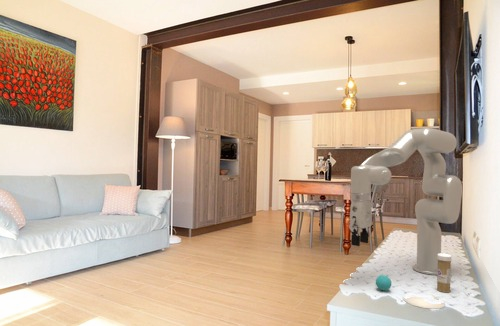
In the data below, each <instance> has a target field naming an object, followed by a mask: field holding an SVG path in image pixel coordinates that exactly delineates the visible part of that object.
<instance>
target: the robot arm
mask: <svg viewBox="0 0 500 326" xmlns="http://www.w3.org/2000/svg"><path fill="white" fill-rule="evenodd" d="M457 144H458V141H457V138H456V136H455V135H454V134H453V133H451V132H448V131H443V130H441V129H436V128H431V127H425V128H423V127H422V128H413V129H408V130H407V131H405V132H404V133H402V134H401V136H399V137H398V138H397V139H396V140H395V141H394V142H393V143H392V144H391V145H390V146H389V147H387V148H384V149H383V150H381V151H379V152H377V153H375V154H373V155H371V156H369V157H367V158H366V159H365V160H364V161H363V162H362V163H361V164H360V165H358V166H357V165H355V166H351V169H350V202H351V204H350V208H349V209H350V211H349V225H348V227H349V230H350V235H351V243H350V244H351V246H355V247H360V246H361V243H364V244H369V232H370V227H371V226H372V225H373V212H372V209H373V208H372V202H371V201H372V185H374V186H375V185H376V186H383V185H386V184H388V183H389V182H391V179H392V172H391V170H390V168H391V167H395V166H398V165H401V164H403V163H405V162H406V161H407V160H408V159H409V158H410V157H411V156H412V155H413V154H414V153H415V152H416V151H418V152H419V153H420V156H421V157H422V159H423V162H424V165H423V167H424V169H423V175H422V183H421V190H422V192H423V193H424V194H425V195H427V196H431V197H440V198H443V199H435V198H421V199H419V200H418V201H417V202H416V204H415V206H414V213H415V217H416V227H417V228H416V229H417V231H416V233H417V234H416V264H413V265H412V270H414V271H416V272H417V273H421V274H425V275H434V276H437V273H438V259H437V255H438V254H439V253H442V229H441V226H440V224H439V223H442V224H448V225H449V224H455V223H456V222H457V221H458V219H459V218H460V217H459V216H460V211H461V205H462V196H463V184H462V181H461V180H460V179H461V178H459V177H458V176H456V175H453V174H452V175H451V174H446V172H447V171H446V170H447V163H446V161H445V158H444V156H443V154H449V153H452V152H453V151H455V149H456V148H457ZM389 167H390V168H389Z"/></svg>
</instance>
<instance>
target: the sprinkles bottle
mask: <svg viewBox="0 0 500 326" xmlns="http://www.w3.org/2000/svg"><path fill="white" fill-rule="evenodd" d="M437 259H438V273H437V275H436V277H437V278H436V281H437V283H436V284H437V285H436V286H437V287H436V290H437V292H438V291H439V292H442V293H450V292H451V283H452V282H451V278H452V275H451V274H452V272H451V271H452V269H451V268H452V265H451V264H452V263H451V262H452V255H451V254H449V253H442V252H441V253H439V254H438V255H437Z"/></svg>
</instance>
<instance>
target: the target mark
mask: <svg viewBox="0 0 500 326" xmlns="http://www.w3.org/2000/svg"><path fill="white" fill-rule="evenodd" d="M433 297H434V299H436V300H439V299H440V298H439V297H437V296H433ZM403 301H404V302H405V303H408V304H409V305H411V306H413V307H417V308H422V309H429V310H440V309H443V308H445V306H446V302H444V303H441V304H430V303H428V302H425V301H424V300H423V299H422V298H420V297H419V298H418V297H417V298H416V297H410V298H407V299H405V298H404V300H403Z"/></svg>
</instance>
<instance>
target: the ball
mask: <svg viewBox="0 0 500 326" xmlns="http://www.w3.org/2000/svg"><path fill="white" fill-rule="evenodd" d="M375 285H376V287H377V288H378V289H379V290H380V291H382V290H383V292H386V291H388V290H390V289H391V288H392V280H391V279H390V277H389V276H388V275H384V274H381V275H378V276H377V277H376V279H375Z"/></svg>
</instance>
